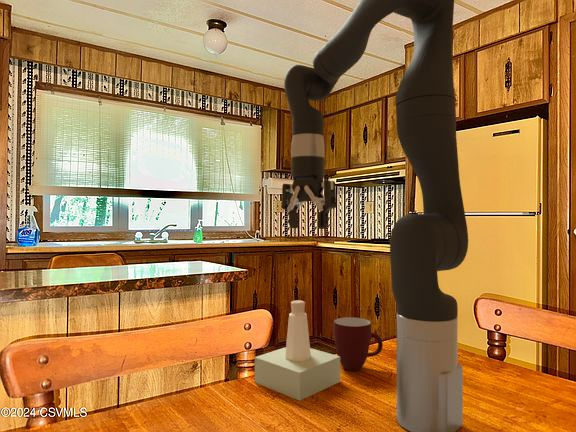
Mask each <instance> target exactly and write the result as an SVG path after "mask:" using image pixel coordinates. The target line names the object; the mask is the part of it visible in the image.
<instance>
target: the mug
mask: <svg viewBox="0 0 576 432" xmlns="http://www.w3.org/2000/svg"><path fill="white" fill-rule="evenodd" d="M333 339H334V344H335V352H336V355H337V356H340V365H341V366H342V368H343V369H345V370H346V371H350V372H351V371H352V372H356V371H357V372H358V371H360V370H361V369H363V367H364V365H365V363H366V361H367V360H368V359H367V358H370V357H375V356H377V355H378V356H379V354H381V352H382V350H383V344H384V343H383V341H382V337H381V336H380V335H379V334H378V333H376V332H372V322H371V320H368V319H366V318H362V317H355V316H354V317H351V316H349V317H348V316H347V317H339V318H336V319H334V320H333ZM372 339H375V340H376V342H377V345H378V346H377V348H376V350H375V351H372V352H369V349H370V344H371V340H372Z"/></svg>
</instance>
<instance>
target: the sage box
mask: <svg viewBox="0 0 576 432" xmlns="http://www.w3.org/2000/svg"><path fill="white" fill-rule="evenodd" d="M310 353H311V358H310V359H308V360H305V361H291V360H288V359H286V358H285V354H286V346H285V347H282V348H279V349H276V350H273V351H271V352H270V351H269V352H267V353H264V354H260V355H257V356H254V383H255V384H258V385H260V386H263V387H265V388H267V389H270V390H272V391H275V392H278V393H279V394H282V395H284V396H287V397H289V398H291V399H294V400H297V401H300V402H301V401H302V400H304V399H306V398H309V397H312V396H313V395H316V394H317V393H319V392H321V391H324V390H325V389H327V388H330V387H332V386H334V385H337V384H338V383H340V382H341V363H340V356H337V354H332V353H329V352H326V351H322V350H319V349H315V348H311V347H310Z"/></svg>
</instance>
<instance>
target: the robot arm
mask: <svg viewBox="0 0 576 432" xmlns="http://www.w3.org/2000/svg"><path fill="white" fill-rule="evenodd" d="M454 11H455V0H360V1H359V2H358V3H357V5H356V7H354V9H353V10H352V12H351V14H350V15H349V17H348V18H347V19H346V21H345V22H344V23H343V24H342V26H341V27H340V28H339V29H338V30H337V32H336V33H334V34H333V35H332V37H330V38H329V39H328V41H326V43H325V44H323V45H322V47H320V48H319V49H318V51H316V53H315V54H314V55H313V59H312V66H313V67H311V66H307V65H303V64H294V65H292V66H291V67H290V68H289V69H288V70H287V71H286V74H285V77H284V84H283V85H284V92H285V95H286V96H285V97H286V100H287V103H288V107H289V110H290V114H291V121H292V123H291V125H292V126H291V130H292V134H291V135H292V137H291V144H290V145H291V146H290V152H291V153H290V155H291V156H290V158H291V160H290V174H291V178H292V179H293V181H292V183H283V184H282V186H281V187H282V190H281V191H282V192H281V209H283V210H286V211H287V212H288V225H289V228H290V229H298V228H299V212H298V210H299V209H300V207H301V206H302V205H304V203H305V202H306V203H307V202H312V203H313V204H314V205H315V206H316V207H317V209H318V212H317V213H318V215H317V220H318V221H317V224H318V225H317V227H318V228H317V229H319V230H326V229H327V228H328V226H329V214H330V213H329V212H330V210H333V209H336V208H337V192H336V191H337V190H336V189H337V188H336V182H335V181H334V180H325V181H324V177H325V174H326V173H325V171H326V170H325V168H326V167H325V165H326V163H325V162H326V161H325V159H326V158H325V157H326V156H325V154H326V153H325V150H326V149H325V148H326V147H325V140H324V114H323V113H322V111H321V110H319V109H317V108H315V107H314V106H313V105H311V103H310V101H312V102H319V101H323V100H325V99H326V98H327V97H329V96H330V94H331V92H332V91H333V89H334V88H335V86H336V85H337V83H338V81H339V79H340V77H342V76H343V75H345V74H346V73H347V72H348V71H349V70H350V69H351V68H353V67H354V66H355V65H356V64H357V63H358V62H359V61H360V60H361V58H362V57H363V56H364V54H365V51H366V49H367V46H368V42H369V38H370V37H371V34H372V31H373V29H374V28H375V27H376V25H377V24H378V23H379V22H381V21H382V20H384V19H385V18H386V17H388V16H389V15H391V14H393V13H394V14H396V15H399V16H402V17H405V18H407V19H409V20H411V24H412V29H413V30H412V31H413V53H412V58H411V61H410V62H409V65H408V67H407V68H406V71H405V73H404V75H403V76H402V78H401V81H400V83H399V86H398V88H397V92H396V95H395V115H396V116H395V117H396V119H395V120H396V134H397V139H398V142H399V143H400V146H401V149H402V151H403V152H404V155H405V156H406V158H407V161H408V162H409V164H410V166H411V167H412V169H413V171H414V173H415V175H416V177H417V179H418V183H419V185H420V190H421V194H422V195H421V196H422V206H423V208H422V213H411V214H410V213H409V214H405V215H403V216H401V217H400V218H399V219H398V220H397V221H396V222H395V224H394V226H393V227H392V231H391V234H390V240H389V241H390V242H389V258H390V259H389V260H390V274H391V276H390V277H391V280H390V281H391V291H392V294H393V298H394V301H395V303H396V421H397V424H398V425H400V426H401V427H402V428H404V429H405V430H407V431H409V432H457V431H458V430H459V429H460V428H462V427H463V423H464V421H463V419H464V417H463V416H464V415H463V411H464V410H463V407H464V406H463V405H464V404H463V401H464V399H463V396H464V394H463V392H464V391H463V390H464V389H463V388H464V387H463V383H464V381H463V379H464V378H463V372H464V371H463V365H462V364H460V363H458V360H459V359H458V313H459V311H458V308H459V307H458V302H457V299H456V298H455V297H454V296H452V295H449V294H447V293H445V292H443V291H442V290H441V288H440V286H439V278H438V272H442V271H443V272H445V271H451V270H454V269H456V268H458V267H459V266H461V264H463V262H464V261H465V259H466V256H467V253H468V249H469V232H468V231H469V230H468V225H467V218H466V214H465V213H466V212H465V206H464V201H463V199H464V198H463V193H462V187H461V181H460V167H459V165H460V164H459V154H458V143H457V113H456V111H457V109H456V107H457V106H456V95H455V87H454V60H453V58H454V56H453V27H454V13H455V12H454ZM323 191H324V194H323Z"/></svg>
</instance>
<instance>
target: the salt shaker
mask: <svg viewBox="0 0 576 432" xmlns="http://www.w3.org/2000/svg"><path fill="white" fill-rule="evenodd" d="M290 304H291V306H290V307H291V312H290V313H289V314H288V315H289V316H288V325H287V336H286V343H285V344H286V346H285V347H286V354H285V358H286V359H288V360H291V361H305V360H308V359H310V358H311V353H310V348H311V345H310V333H309V326H308V325H309V324H308V323H309V322H308V315H307V313H306V312H305V305H306V302H305V301H303V300H301V299H299V300H292V301H291V302H290Z"/></svg>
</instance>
